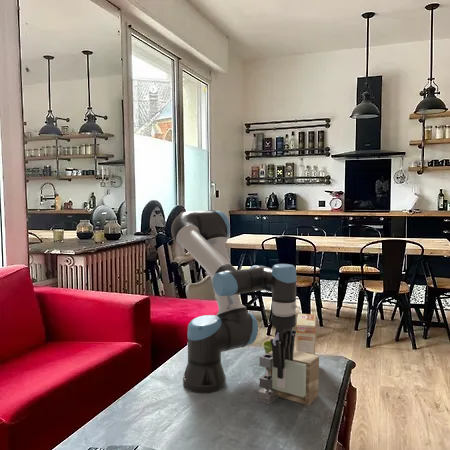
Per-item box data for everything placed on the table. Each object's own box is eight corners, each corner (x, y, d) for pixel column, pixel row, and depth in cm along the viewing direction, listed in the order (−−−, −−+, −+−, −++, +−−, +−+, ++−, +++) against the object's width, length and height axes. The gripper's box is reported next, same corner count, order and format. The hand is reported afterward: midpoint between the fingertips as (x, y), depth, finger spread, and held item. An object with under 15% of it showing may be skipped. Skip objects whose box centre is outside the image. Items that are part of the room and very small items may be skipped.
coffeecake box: (314, 378, 165) (315, 326, 163) (294, 376, 166) (295, 324, 165) (314, 362, 180) (315, 314, 178) (296, 360, 181) (297, 313, 179)
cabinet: (257, 400, 148) (258, 358, 147) (277, 384, 160) (278, 346, 158) (300, 413, 140) (301, 370, 138) (318, 396, 151) (319, 355, 150)
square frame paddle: (259, 386, 147) (259, 356, 146) (265, 382, 150) (265, 353, 150) (301, 398, 139) (302, 367, 138) (307, 394, 142) (307, 363, 141)
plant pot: (270, 359, 183) (270, 338, 182) (291, 364, 177) (291, 343, 176) (258, 366, 175) (258, 345, 174) (279, 372, 170) (279, 350, 169)
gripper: (283, 321, 134) (282, 397, 136) (304, 310, 146) (303, 380, 148) (261, 317, 139) (261, 391, 141) (283, 306, 151) (283, 375, 153)
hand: (283, 385), depth 144 cm, fingers closed on square frame paddle, 2 cm apart
